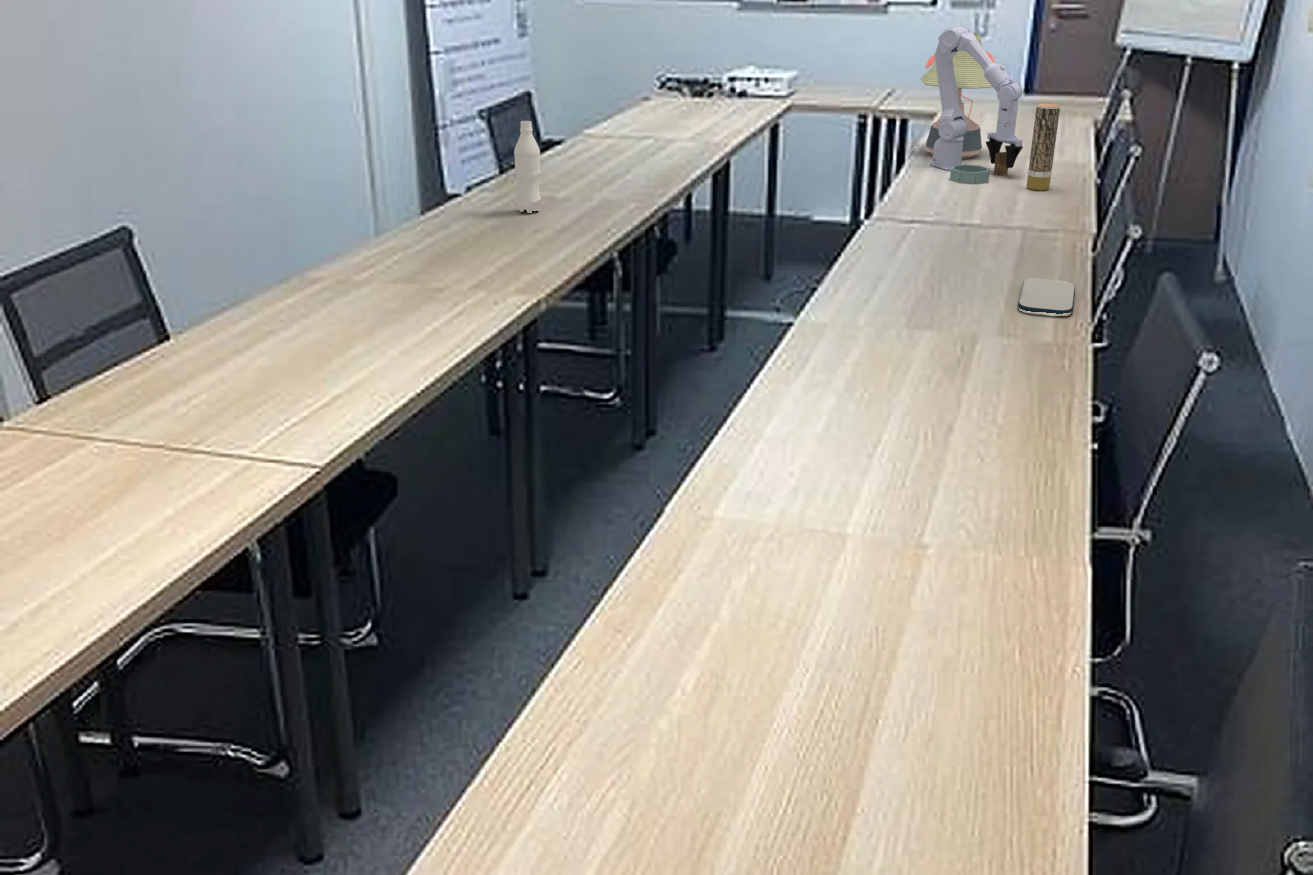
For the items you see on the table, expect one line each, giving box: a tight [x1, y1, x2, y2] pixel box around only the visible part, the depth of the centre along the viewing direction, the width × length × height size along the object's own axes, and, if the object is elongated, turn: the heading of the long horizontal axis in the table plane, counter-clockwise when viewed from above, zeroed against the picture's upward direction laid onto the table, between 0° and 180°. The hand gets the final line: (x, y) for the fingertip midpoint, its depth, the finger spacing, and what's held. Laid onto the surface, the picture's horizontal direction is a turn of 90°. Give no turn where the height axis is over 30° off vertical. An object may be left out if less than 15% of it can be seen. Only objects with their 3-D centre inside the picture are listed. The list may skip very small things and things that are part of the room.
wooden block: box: [993, 151, 1009, 177], centre depth 398 cm, size 2×4×7 cm, turn 115°
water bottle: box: [513, 120, 542, 202], centre depth 346 cm, size 7×7×25 cm
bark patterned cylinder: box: [1026, 103, 1061, 192], centre depth 376 cm, size 7×7×25 cm
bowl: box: [949, 164, 991, 185], centre depth 391 cm, size 12×12×4 cm
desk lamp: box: [920, 32, 993, 160], centre depth 419 cm, size 26×28×42 cm
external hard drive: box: [1017, 277, 1076, 314], centre depth 277 cm, size 24×12×2 cm, turn 161°
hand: (1001, 165), depth 398 cm, fingers open, 7 cm apart
